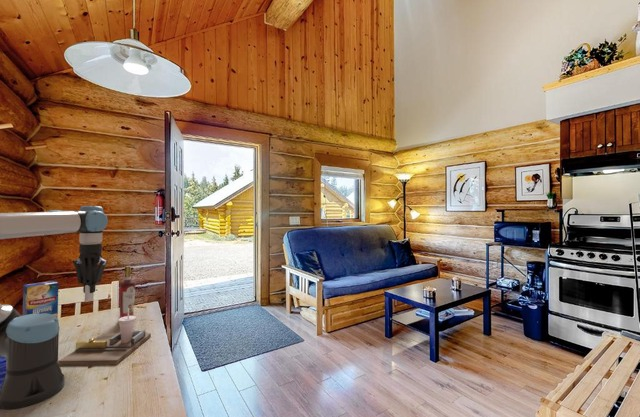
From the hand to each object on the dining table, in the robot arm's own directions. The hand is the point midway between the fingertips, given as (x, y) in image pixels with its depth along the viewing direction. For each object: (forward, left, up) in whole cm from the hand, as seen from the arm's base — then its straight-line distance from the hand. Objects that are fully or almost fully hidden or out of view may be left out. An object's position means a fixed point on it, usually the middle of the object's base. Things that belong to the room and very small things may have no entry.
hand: (89, 300), depth 120 cm
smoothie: (+5, -13, -19) cm, 23 cm away
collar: (+5, -13, -19) cm, 23 cm away
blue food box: (+20, +36, -20) cm, 46 cm away
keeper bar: (-3, -3, -19) cm, 19 cm away
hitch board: (0, -8, -20) cm, 22 cm away
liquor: (+33, +4, -20) cm, 39 cm away
